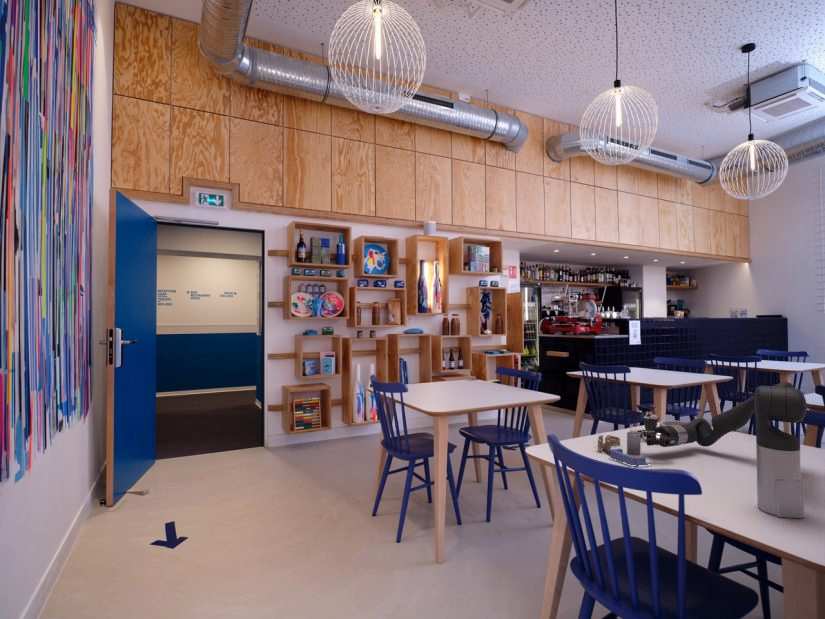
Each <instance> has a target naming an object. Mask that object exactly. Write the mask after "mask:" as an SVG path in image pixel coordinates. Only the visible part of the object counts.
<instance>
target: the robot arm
mask: <svg viewBox="0 0 825 619" xmlns="http://www.w3.org/2000/svg"><path fill="white" fill-rule="evenodd" d="M808 407H809V405H808V403H807V399H806V397H805V395H804V393H803V392H802V391H801V390H800V389H797V388H796V387H795V386H794V385H793V384H792V383H791V382H789V381H783V382H779V383H777V384H774V385H771V386H770V385H759V386H757V387H756V389H755V391H754V395H753V396H751V397H749V398H748V399H746V400H744V401H742V402H741V403H739V404H738V405H736V406H734V407H732V408H730V409H728V410H725V411H724V412H721V413H719V414H716V415H714V416H712V418H711V424H710V422H709V421H708V420H707V419H706V418H703V417H697V418H694V419H692V420H691V421H688V422H689V423H687V424H684V425H668V426H660V425H659V426H657V428H656V429H655V430H654V431H646V430H645V429H639V430H638V429H637V433H640V440H641V441H643V442H645V441H646V442H645V443H646V446H649V447H651V446H660V447H663V448H667V447H668V448H669V447H674V446H681V445H686V444H692V443H695V442H696V443H697V444H698V445H699V446H701V447H704V448H705V447H710V446H713V444H715V443H716V442H718V441H719V440H720V439H721V438H722V437H724V436H725V435H727V434H729V433H732V432H734V431H736V430H739V429H741V428H743V427H745V426H746V425H747V424H748V423H749V422H750V420H751V419H752V417H753V414H754V413H755V425H756V426H755V430H756V431H755V432H756V435H755V436H756V437H755V440H756V442H755V443H756V492H757V498H756V500H757V507H758V509H759V510H761V511H762V512H765V513H768V514H770V515H774V516H776V517H777V518H794V519H797V518H798V519H804V518H805V516H804V515H805V512H804V510H805V509H804V508H805V507H804V506H805V505H804V502H805V501H804V482H803V481H802V477H801V473H802V472H801V467H802V466H801V441H800V439H799V438H798V436H795V435H794V434H790V433H788V432H785V431H784V430H782V429H779V428H777V427H776V426H775V425H773V424H772V423H771V421H773V422H781V423H792V424H798V423H801V422H803V420H804V419H805V417H806V414H807V410H808Z"/></svg>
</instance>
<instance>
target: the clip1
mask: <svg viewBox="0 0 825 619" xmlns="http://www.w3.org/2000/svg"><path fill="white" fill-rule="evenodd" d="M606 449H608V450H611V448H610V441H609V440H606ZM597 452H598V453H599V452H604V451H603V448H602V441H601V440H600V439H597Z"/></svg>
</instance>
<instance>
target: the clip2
mask: <svg viewBox="0 0 825 619" xmlns="http://www.w3.org/2000/svg"><path fill="white" fill-rule="evenodd" d="M605 438H606V437H605ZM598 439H600V440H601V441H602V449H603V444H604V435H601V434H600V435H598ZM598 439H597V440H598ZM606 440H609V441H610V449H611V448H612V446H611V437H609V436H608V437H607V438H606Z"/></svg>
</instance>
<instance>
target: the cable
mask: <svg viewBox="0 0 825 619" xmlns="http://www.w3.org/2000/svg"><path fill="white" fill-rule="evenodd" d="M611 445H612V444H611ZM602 450H603V451H604V452H606V453H605V454H606V455H607V454H608V455H610V450H611V449H610V450H608V449H606V443H605V442H603V448H602Z"/></svg>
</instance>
